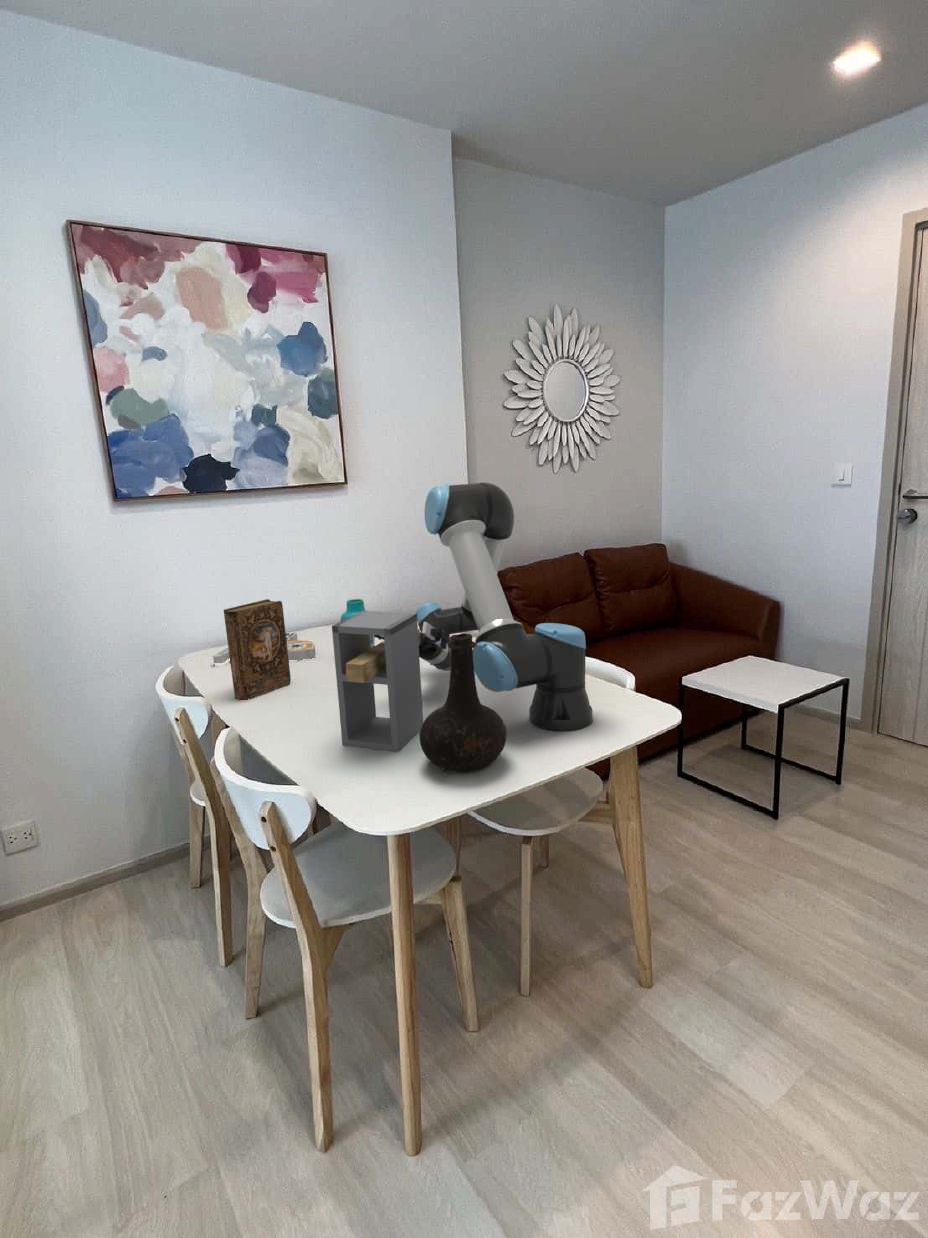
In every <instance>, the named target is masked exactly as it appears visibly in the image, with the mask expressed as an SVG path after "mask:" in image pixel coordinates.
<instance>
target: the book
mask: <svg viewBox="0 0 928 1238" xmlns="http://www.w3.org/2000/svg"><path fill="white" fill-rule="evenodd" d="M284 614H285V613H284V607H283V602H282V600H277V601H272V600H270V599H269V598H267V599H262V600H259V601H255V602H250V603H246V604H241V605H237V606H233V607H229V608H225V609H223V616H224V623H225V630H226V631H225V632H226V640H227V648H229V656H230V662H229V663H230V669H231V677H232V678H231V679H232V686H233V687H232V688H233V692H234V693H233V694H234V699H235V700H236V699H239V700H248V699H250V700H253V699H255V697H256V698H258V697H261V696H263V695H265V694H268V692H269V693H270V692H273V690H274V691H276V690H275V689H277V690H279V689H282V688H283V687H286V686H288V685H290V684H291V677H292V676H291V667H290V662H289V658H288V650H287V641H286V632H287V631H286V626H285V624H286V623H285V615H284ZM262 694H263V695H262ZM260 695H261V696H260ZM257 696H258V697H257ZM252 698H253V699H252ZM239 700H238V701H239ZM248 701H249V700H248Z"/></svg>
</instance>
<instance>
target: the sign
mask: <svg viewBox="0 0 928 1238" xmlns="http://www.w3.org/2000/svg"><path fill="white" fill-rule="evenodd" d="M285 632H286V641H287V650H288V658H289V660H303V659H308V658H309V659H312V658H315V659H316V656H315V654H316V646H315V645H316V644H315V643H314V641H312V640H308V639H307V640H306V639H305V640H304V639H302V640H299V639H298V632H287V631H285ZM316 655H317V654H316ZM212 657H213V658H212V659H213V664H214V663H223V662H225V661H226V660H227V659H229V658H230V656H229V648H228V647H226V648H224V649H222V650H221V651H218V652H216V653H215V654H213V655H212ZM309 659H308V660H309Z"/></svg>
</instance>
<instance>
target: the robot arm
mask: <svg viewBox="0 0 928 1238" xmlns="http://www.w3.org/2000/svg"><path fill="white" fill-rule="evenodd" d="M514 513H515V511H514V508H513V504H512V502H511V499H510V498H509V496H508V495H507V493H506V492H505V491H504V490H503V489H502V488H501V487H500V486H498V485H496V484H494V483H490V482H478V483H477V482H476V483H466V484H465V483H463V484H450V485H449V484H448V483H447V484H444V485H443V484H442V485H437V486H433V487H432V488H431V489H429V491H428V492H427V496H426V498H425V503H424V523H425V527H426V530H427V532H428V533H430V534H431V535H435V536H436V535H438V537H439V539H440V542H441V544H442V545H443V546H445V547H448V548H449V550H450V552H451V555H452V558H453V561H454V564H455V568H456V569H457V573H458V575H459V578H460V582H461V584H462V585H461V586H462V588H463V590H464V593H463V597H462V602H461V606H458V607H449V608H443V609H442V608H441V606H440V604H439V603H437V602H432V601H430V602H425V603H423V604H422V605H420V606H418V608H417V609H416V611H415V614H417V625H418V629H420V641H421V644H420V645H419V659H422V660H423V661H426V662H427V663H429V665H430V666H432V667H433V666H434V667H435V668H436V669H437V670H440V671H443V672H450V671H451V648H449V647H448V643H449V642H451V638H450V637H451V635H456V634H462V633H467V632H473V631H474V632H475V631H478V634H477V636H476V637H475V639H474V642H475V643H476V644H477V645H476V647H474V648H472V649H473V662H474V673H475V676H476V677H477V678H478V679H477V680H479V682H480V683H481V684H482V686H484V688H486V689H488V690H489V691H491V692H493V693H498V692H510V691H514V690H515V689H519V688H525V687H529V686H534V685H535V690H534V694H533V697H532V701H531V705H530V707H529V710H528V711H529V713H528V714H529V717H528V718H529V721H530V723H531V724H533V725H534V726H536V727H538V728H541V729H546V730H549V731H558V730H559V732H560V731H561V732H562V731H563V730H566V732H567V730H568V731H575V730H576V731H577V730H579V729H582V728H585V726H586V727H588V726H589V725H591V724H592V722H593V717H594V716H593V709H592V706H591V704H590V699H589V696H588V693H587V690H586V649H587V646H586V644H587V643H586V634H585V632H584V631H583V630H582V629H581V628H579V627H577V626H573V625H569V624H565V623H564V624H563V623H557V622H555V623H554V622H544V623H542V622H541V623H539V624H536V626H535V628H534V632H535V633H529V634H527V633H526V630H525V628H524V625H523V623H522V622H518V621H517V620H514V617H513V615H512V612H511V609H510V606H509V603H508V600H507V598H506V595H505V592H504V591H503V590H504V589H503V587H502V585H501V583H500V579H499V577H498V569H499V567H500V563H501V558H502V555H503V552H504V548H505V544H506V541H507V540H509V539H510V538H511V536H512V533H513V530H514V525H515V514H514ZM374 637H375V639H376V638H377V639H378V640H380V641H381V640H382V641H384V636H382V635H374ZM587 725H588V726H587ZM563 732H564V731H563Z"/></svg>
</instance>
